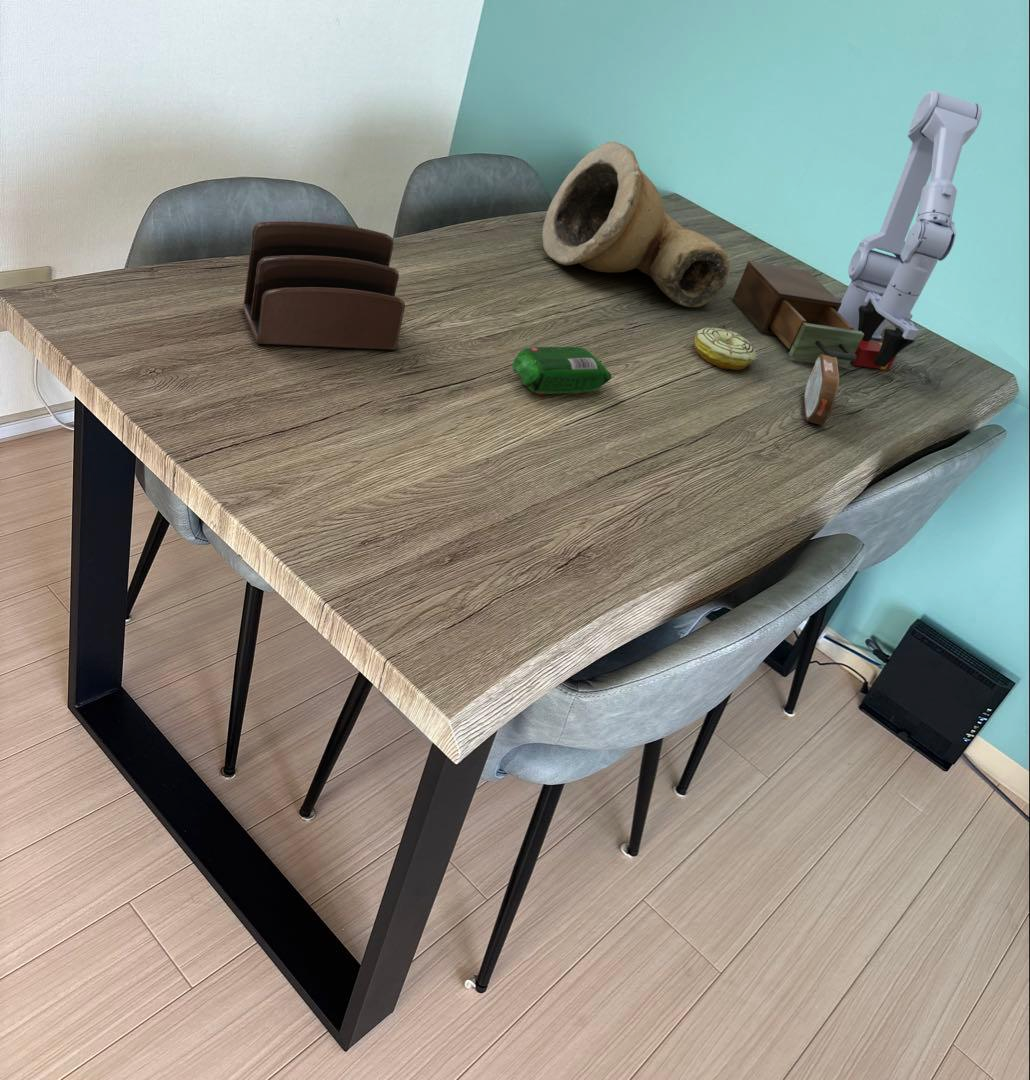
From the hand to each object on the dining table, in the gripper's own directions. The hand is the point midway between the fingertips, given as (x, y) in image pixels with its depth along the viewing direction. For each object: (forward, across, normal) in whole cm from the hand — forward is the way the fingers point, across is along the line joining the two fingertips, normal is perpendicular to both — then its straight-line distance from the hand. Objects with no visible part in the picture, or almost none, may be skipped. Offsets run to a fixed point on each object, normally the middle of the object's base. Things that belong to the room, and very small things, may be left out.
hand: (869, 355), depth 190 cm
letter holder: (+2, -14, +103) cm, 104 cm away
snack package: (+2, -22, +69) cm, 72 cm away
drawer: (+1, 0, +13) cm, 13 cm away
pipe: (+2, +24, +41) cm, 48 cm away
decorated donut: (+2, -6, +34) cm, 35 cm away
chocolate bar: (+2, 0, 0) cm, 2 cm away
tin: (+2, -21, +24) cm, 32 cm away
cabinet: (+2, +13, +13) cm, 18 cm away
